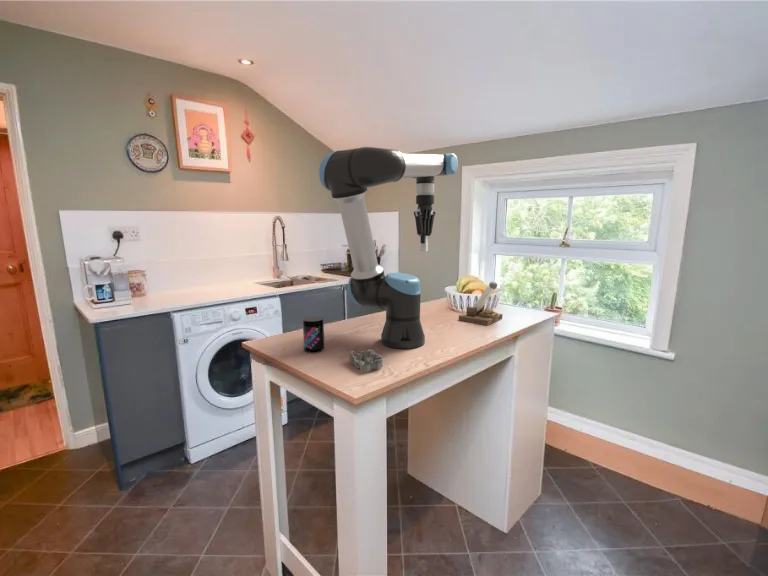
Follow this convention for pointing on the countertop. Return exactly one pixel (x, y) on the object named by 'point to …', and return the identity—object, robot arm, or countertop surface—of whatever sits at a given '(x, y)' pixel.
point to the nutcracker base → (479, 316)
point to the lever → (485, 296)
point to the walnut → (488, 311)
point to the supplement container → (313, 333)
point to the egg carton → (366, 360)
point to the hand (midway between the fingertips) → (424, 251)
